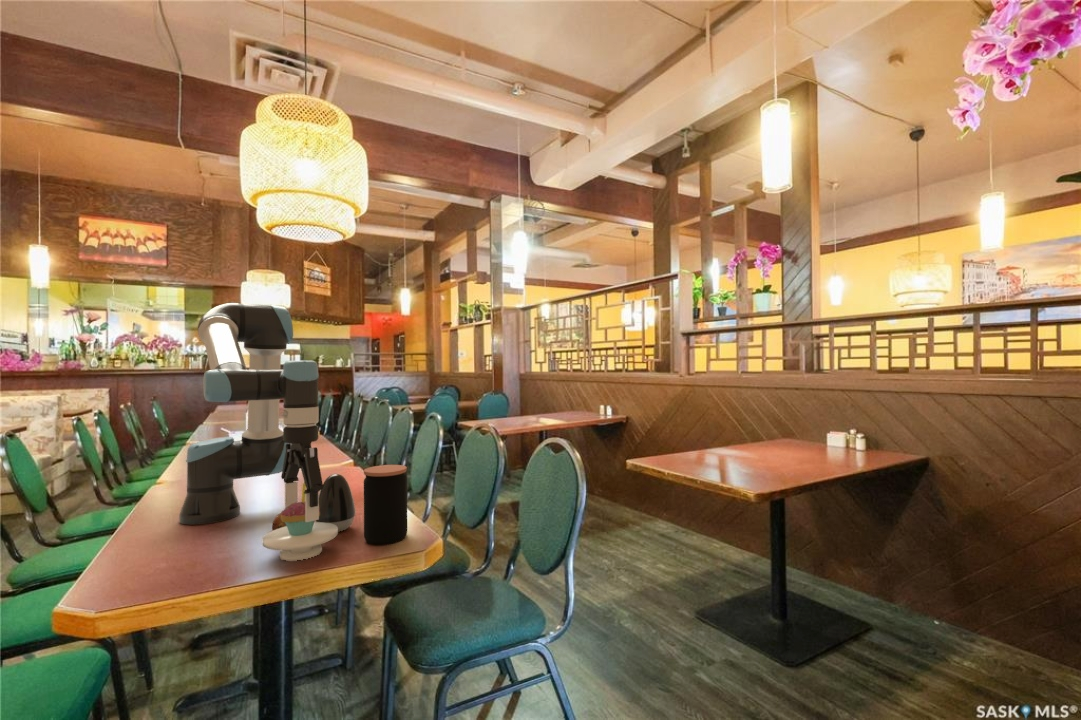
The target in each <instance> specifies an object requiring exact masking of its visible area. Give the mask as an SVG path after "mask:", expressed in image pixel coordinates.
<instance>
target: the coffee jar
mask: <svg viewBox="0 0 1081 720" xmlns="http://www.w3.org/2000/svg"><path fill="white" fill-rule="evenodd" d="M406 473H407V466H405V465H401V464H383V465H375V466H370V467H366V468H365V469H363V475H364V476H365V477H364V479H363V537H364V540H365V541H366V542H367V543H368V544H370V545H374V546H386V545H387V544H388V545H392V544H396V543H399V542H401V541H403V540H404V539H405V538H406V536H407V534H408V477H407V475H406ZM388 545H387V546H388Z"/></svg>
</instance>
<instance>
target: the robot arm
mask: <svg viewBox="0 0 1081 720" xmlns="http://www.w3.org/2000/svg"><path fill="white" fill-rule="evenodd" d="M293 325H294V324H293V320H292V317H291V314H290V312H289V310H288V308H286V307H284V306H278V305H272V304H253V303H252V304H251V303H238V302H227V303H223V304H219V305H217V306H214V307H213V308H211V309H209V310H208V311H206V312H205V313H204V314H203V315H202V317H201V318H200V319H199V321H198V324H197V335H198V337H199V340H200V341H201V342H202V343H203V344H204V346H205V351H206V357H207V360H208V366H209V370H206V371H205V372H204V374H203V381H202V382H203V383H202V385H203V387H202V391H203V397H204V399H205V401H207V402H211V403H212V402H215V403H220V402H221V403H228V402H243V401H244V402H247V401H248V402H247V406H248V407H247V428H246V430H244V432H243V433H241V440H235V438H234V437H232V436H222V437H221V436H220V437H215V438H214V437H213V438H209V439H205V440H201V441H196V442H195V443H194V442H193V443H192V444H191V445H190V446H188V448H187V452H186V453H187V454H186V460H185V463H186V496H185V499H184V500H183V503H182V506H181V509H180V511H179V515H178V520H179V521H178V522H179V523H180V524H182V525H190V526H191V525H193V526H194V525H195V526H196V525H205V524H206V525H207V524H212V523H217V522H223V521H226V520H230V519H232V518H235V517H238V516H239V515H240V514H241V505H240V502H239V500H238V498H237V495H236V493H235V489H234V480H238V479H245V478H254V477H255V478H256V477H261V476H265V477H266V476H270V475H271V476H272V475H275V474H280V473H281V476H280V477H281V480H283V482H284V509H285V508H287V507H288V506H289V505H291V504H293V503H295V502H296V503H298V500H299V498H298V491H299V489H298V488H299V487H298V485H299V484H298V483H299V481H300V480H299V477H298V476H299V471H300V470H301V474H302V478H303V483H304V482H305V485H306V489H305V491H304V494H305V522H310V521H315V522H316V520H319V493H320V490H323V483H324V482H323V478H322V474H321V466H320V461H319V455H318V454H319V453H318V447H312V443H313V442H316V441H318V440H319V426H318V425H317V424H318V423H319V417H320V415H319V414H320V413H319V407H320V406H319V377H320V374H319V366H318V363H317V361H314V360H286V361H285V362H284V363H283V367H282V369H281V365H282V364H281V363H282V361H281V360H282V353H284V352H285V351H286V350H287V346H288V345H287V344H289V345H290V344H292V343H293V341H294V327H293ZM239 343H243V349H244V350H245V351H247V352H248V354H249V358H248V361H249V363H248V365H249V368H248V369H247V365H246V363H245V359H244V356H243V353H242V349H241V347H240V344H239ZM280 400H283V411H282V412H281V417H283V424H284V425H285V426H284V427H283V430H282V429H280V427H279V422H280Z"/></svg>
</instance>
